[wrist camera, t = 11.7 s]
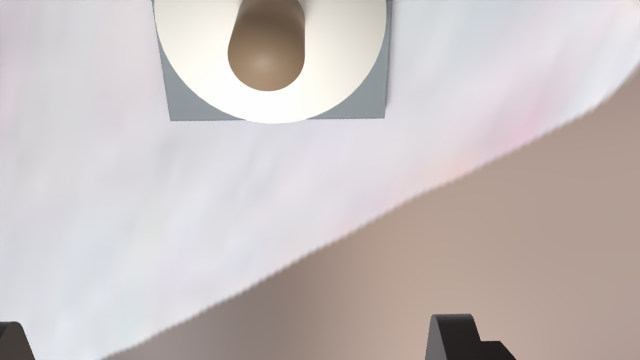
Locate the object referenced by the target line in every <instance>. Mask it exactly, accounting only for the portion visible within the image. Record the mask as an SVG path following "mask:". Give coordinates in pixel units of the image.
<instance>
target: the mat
mask: <svg viewBox="0 0 640 360" xmlns="http://www.w3.org/2000/svg"><path fill="white" fill-rule="evenodd" d="M391 4H392V0H386V27H385V35H384V39H383V42H382V46H381V49H380V52H379V54H378V57H377V59H376V62H375V63H374V65H373V67H372V69H371V70H370V72H369V74H368V75H367V76H366V78H365V79H364V80H363V82H362V83H361V84H360V86H359V87H358V88H357V89H356V90H355V91H354V92H353V93H352V94H351V95H349V96H348V97H347V98H346V99H344V100H343V101H342V102H341V103H339V104H338V105H336V106H334V107H333V108H331V109H329V110H328V111H325V112H323V113H321V114H319V115H317V116H314V117H311V118H307V119H376V118H384V117H385V101H386V85H387V69H388V53H389V36H390V20H391ZM152 6H153V12H154V0H152ZM154 19H155V12H154ZM155 25H156V22H155ZM156 32H157V38H158V44H159V51H160V57H161V64H162V70H163V77H164V83H165V90H166V96H167V103H168V109H169V115H170V121H220V120H245V119H242V118H238V117H235V116H232V115H230V114H228V113H225V112H223V111H221V110H219V109H217V108H215V107H214V106H212V105H210V104H209V103H207V102H206V101H205V100H203V99H202V98H200V97H199V96H198V95H197V94H196V93H194V92H193V91H192V90H191V89H190V88H189V87H188V86H187V85H186V84H185V83H184V81H183V80H182V79H181V78H180V77H179V76H178V74H177V73H176V71H175V70H174V68H173V67H172V65H171V64H170V62H169V60H168V58H167V56H166V54H165V52H164V50H163V47H162V44H161V42H160V39H159V36H158V31H157V27H156Z"/></svg>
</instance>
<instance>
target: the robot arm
mask: <svg viewBox="0 0 640 360" xmlns="http://www.w3.org/2000/svg"><path fill="white" fill-rule="evenodd" d="M0 360H35V358H34V356H33V353H32V350H31V348H30V345H29V343H28V340H27V338H26V335H25V333H24V330H23V328H22V326H21V324H20V323H18V322H0ZM425 360H516V359H515V358H514V356H513V355H512V354H511V353H510V352H509V351H508V350H507V348H506V347H505V346H504V345H503V344H502V343H501V342H500V341H481V340H480V337H479V334H478V331H477V328H476V325H475V322H474V319H473V317H472V315H471V314H438V315H437V314H435V315H432V317H431V321H430V328H429V336H428V342H427V349H426V357H425Z"/></svg>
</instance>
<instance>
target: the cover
mask: <svg viewBox="0 0 640 360" xmlns="http://www.w3.org/2000/svg"><path fill="white" fill-rule="evenodd" d="M154 12H155V22H156V27H157V31H158V36H159V39H160V42H161V44H162V47H163V50H164V52H165V54H166V56H167V58H168V60H169V62H170V64H171V65H172V67H173V68H174V70H175V71H176V73H177V74H178V76H179V77H180V78H181V79H182V80H183V81H184V83H185V84H186V85H187V86H188V87H189V88H190V89H191V90H192V91H193V92H194V93H196V94H197V95H198V96H199V97H200V98H202V99H203V100H205V101H206V102H207V103H209V104H210V105H212V106H214V107H215V108H217V109H219V110H221V111H223V112H225V113H228V114H230V115H232V116H235V117H238V118H242V119H245V120H249V121H255V122H261V123H288V122H294V121H300V120H304V119H307V118H311V117H314V116H317V115H319V114H321V113H323V112H325V111H328V110H329V109H331V108H333V107H334V106H336V105H338V104H339V103H341V102H342V101H343V100H344V99H346V98H347V97H348V96H349V95H351V94H352V93H353V92H354V91H355V90H356V89H357V88H358V87H359V86H360V84H361V83H362V82H363V80H364V79H365V78H366V76H367V75H368V74H369V72H370V70H371V69H372V67H373V65H374V63H375V62H376V59H377V57H378V54H379V52H380V49H381V46H382V42H383V39H384V35H385V27H386V0H154Z"/></svg>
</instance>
